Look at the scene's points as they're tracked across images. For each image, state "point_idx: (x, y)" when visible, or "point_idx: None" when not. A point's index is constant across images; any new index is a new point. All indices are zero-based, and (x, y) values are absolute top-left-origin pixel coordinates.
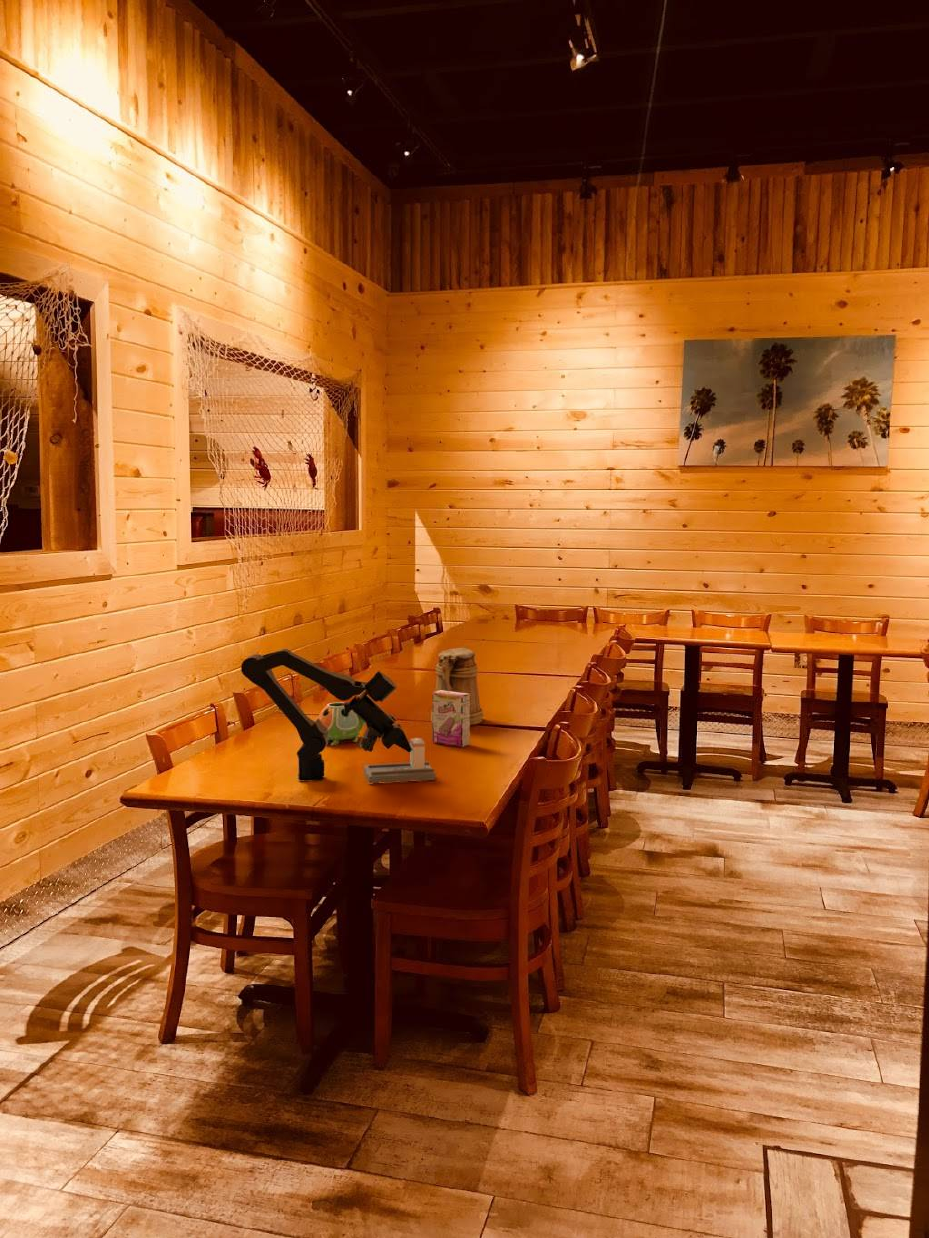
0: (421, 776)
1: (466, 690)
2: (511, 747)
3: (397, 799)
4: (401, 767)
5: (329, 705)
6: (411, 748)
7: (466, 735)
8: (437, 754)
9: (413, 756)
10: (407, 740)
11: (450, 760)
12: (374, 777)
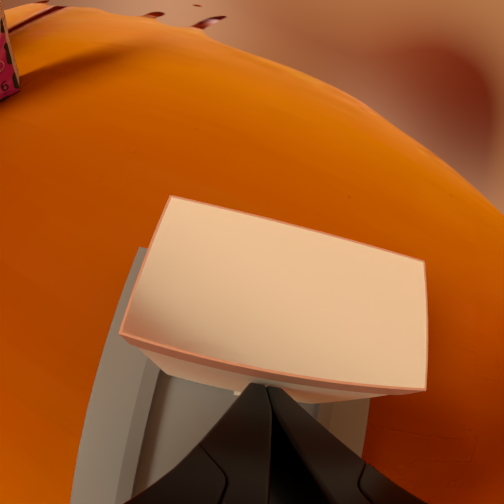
0: None
1: None
2: (108, 30)
3: (500, 491)
4: (186, 444)
5: None
6: (287, 394)
7: (13, 58)
8: (7, 155)
9: (346, 399)
10: (358, 458)
11: (91, 141)
12: None
